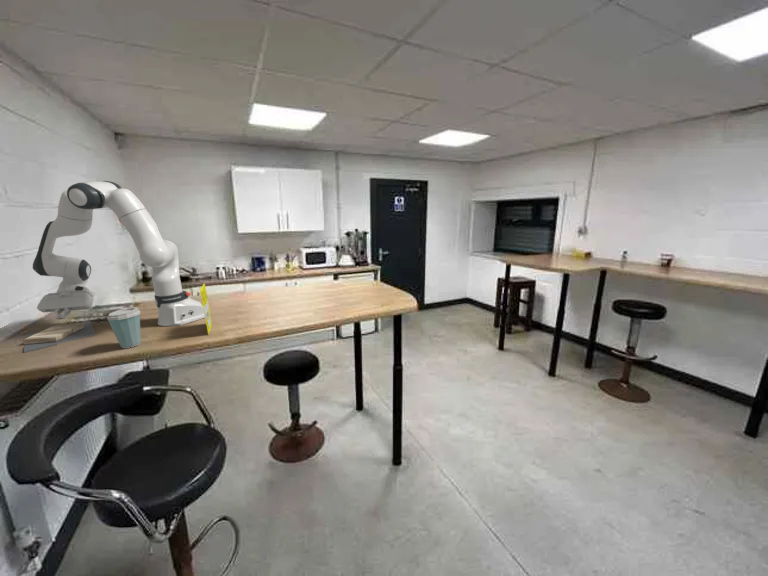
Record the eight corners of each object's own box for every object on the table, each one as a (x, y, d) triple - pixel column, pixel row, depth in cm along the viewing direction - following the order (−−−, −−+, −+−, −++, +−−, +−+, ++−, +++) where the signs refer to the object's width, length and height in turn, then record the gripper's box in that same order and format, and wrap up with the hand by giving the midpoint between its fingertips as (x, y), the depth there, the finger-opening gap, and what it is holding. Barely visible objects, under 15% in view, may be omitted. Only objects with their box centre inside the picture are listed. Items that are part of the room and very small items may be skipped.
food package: (210, 323, 154) (203, 282, 148) (213, 323, 154) (206, 282, 149) (207, 335, 140) (198, 290, 135) (209, 334, 140) (201, 290, 135)
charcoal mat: (90, 321, 161) (90, 320, 161) (96, 335, 144) (96, 334, 143) (26, 335, 146) (26, 334, 146) (24, 352, 129) (23, 351, 128)
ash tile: (53, 325, 149) (22, 339, 134) (82, 323, 151) (55, 337, 136) (55, 330, 150) (24, 344, 135) (84, 327, 152) (57, 342, 137)
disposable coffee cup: (110, 352, 126) (99, 316, 122) (121, 341, 136) (112, 308, 132) (142, 348, 129) (133, 312, 125) (151, 337, 139) (143, 304, 135)
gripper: (39, 290, 149) (27, 317, 142) (89, 287, 152) (80, 313, 145) (50, 296, 154) (39, 323, 147) (98, 293, 157) (90, 319, 150)
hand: (60, 318), depth 146 cm, fingers closed
